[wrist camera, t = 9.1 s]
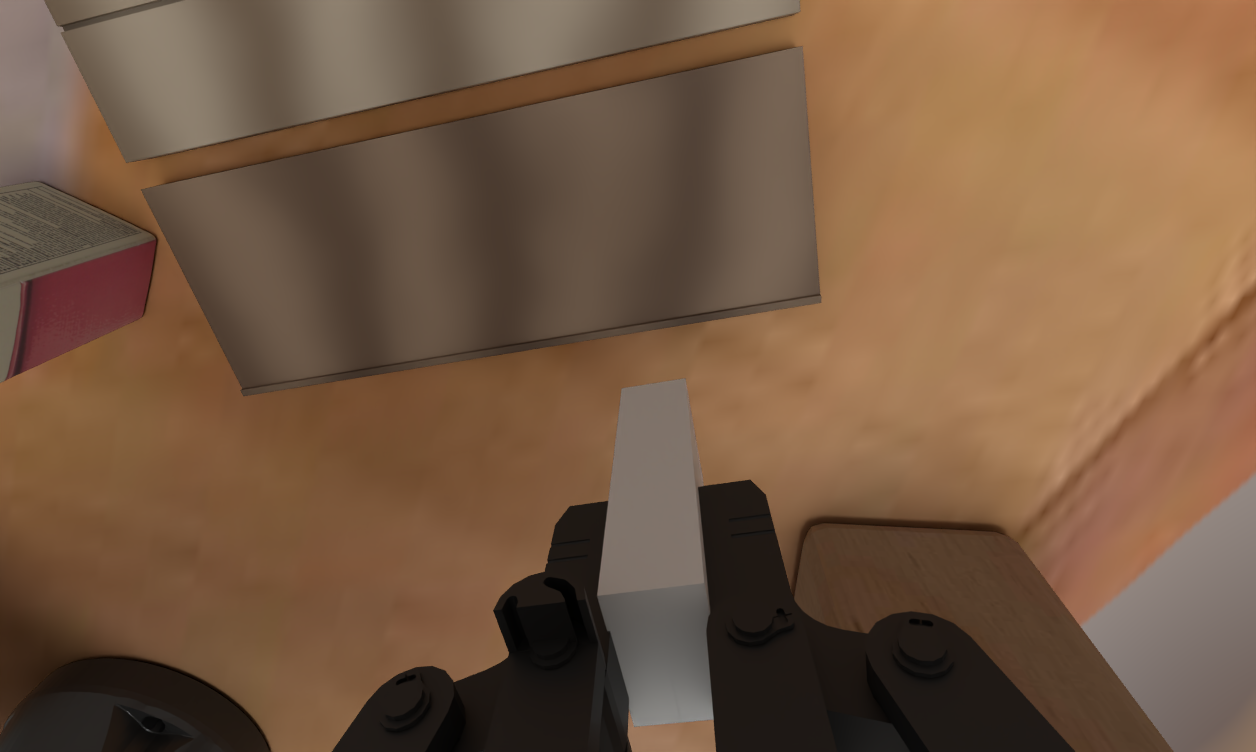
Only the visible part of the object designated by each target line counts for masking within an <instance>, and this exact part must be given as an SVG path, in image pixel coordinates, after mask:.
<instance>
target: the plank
mask: <svg viewBox="0 0 1256 752" xmlns="http://www.w3.org/2000/svg"><path fill="white" fill-rule="evenodd" d="M141 191H142V193H143V195H144V197H145V199H146V201H147V203H148V205H149V207H150V208H151V210H152V212H153V214H154V216H155V218H156V220H157V222H158V224H159V226H160V228H161V230H162V232H163V234H164V236H165V238H166V240H167V242H168V244H169V246H170V248H171V250H172V252H173V254H174V256H175V257H176V259H177V261H178V263H179V265H180V267H181V269H182V271H183V273H184V275H185V277H186V279H187V281H188V283H189V285H190V287H191V289H192V291H193V293H194V295H195V297H196V299H197V301H198V303H199V305H200V307H201V308H202V310H203V312H204V314H205V316H206V318H207V320H208V322H209V324H210V326H211V328H212V330H213V332H214V334H215V336H216V338H217V340H218V342H219V344H220V346H221V348H222V350H223V352H224V354H225V356H226V357H227V359H228V361H229V363H230V365H231V367H232V369H233V371H234V373H235V375H236V377H237V379H238V381H239V383H240V385H241V387H242V389H241V390H240V391H241V393H242V394H243V396H248V395H254V394H260V393H267V392H273V391H279V390H285V389H291V388H298V387H304V386H310V385H316V384H322V383H328V382H335V381H341V380H347V379H353V378H359V377H365V376H372V375H378V374H384V373H390V372H396V371H403V370H409V369H415V368H421V367H427V366H433V365H440V364H446V363H452V362H458V361H464V360H470V359H477V358H483V357H489V356H495V355H501V354H508V353H514V352H520V351H526V350H532V349H538V348H545V347H551V346H557V345H563V344H569V343H575V342H582V341H588V340H594V339H600V338H606V337H613V336H619V335H625V334H631V333H637V332H643V331H650V330H656V329H662V328H668V327H674V326H680V325H687V324H693V323H699V322H705V321H711V320H718V319H724V318H730V317H736V316H742V315H748V314H755V313H761V312H767V311H773V310H779V309H785V308H792V307H798V306H804V305H810V304H816V303H821V295H820V286H819V272H818V257H817V243H816V229H815V215H814V201H813V187H812V172H811V158H810V144H809V130H808V116H807V101H806V87H805V73H804V59H803V46H801V47H795V48H791V49H786V50H781V51H777V52H772V53H768V54H763V55H758V56H754V57H749V58H745V59H740V60H735V61H731V62H726V63H721V64H717V65H712V66H708V67H703V68H698V69H694V70H689V71H685V72H680V73H675V74H671V75H666V76H662V77H657V78H652V79H648V80H643V81H638V82H634V83H629V84H625V85H620V86H615V87H611V88H606V89H602V90H597V91H592V92H588V93H583V94H579V95H574V96H569V97H565V98H560V99H555V100H551V101H546V102H542V103H537V104H532V105H528V106H523V107H519V108H514V109H509V110H505V111H500V112H496V113H491V114H486V115H482V116H477V117H472V118H468V119H463V120H459V121H454V122H449V123H445V124H440V125H436V126H431V127H426V128H422V129H417V130H412V131H408V132H403V133H399V134H394V135H389V136H385V137H380V138H376V139H371V140H366V141H362V142H357V143H353V144H348V145H343V146H339V147H334V148H329V149H325V150H320V151H316V152H311V153H306V154H302V155H297V156H293V157H288V158H283V159H279V160H274V161H270V162H265V163H260V164H256V165H251V166H246V167H242V168H237V169H233V170H228V171H223V172H219V173H214V174H210V175H205V176H200V177H196V178H191V179H187V180H182V181H177V182H173V183H168V184H163V185H159V186H155V187H150V188H146V189H141Z"/></svg>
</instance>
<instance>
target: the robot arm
mask: <svg viewBox="0 0 1256 752" xmlns="http://www.w3.org/2000/svg"><path fill="white" fill-rule="evenodd" d="M547 560H548V564H546V568H545V572H542V573H538V574H534V575H531V576H528V577H526V578H524V579H523V580H521V581H519V582H517V583H515V584H514V585H512V586H511V587H510V588H509V589H508V590H507V591H506V592H505V593H504V594H503V595H502V596H501V597H500V599H499V601H498V603H497V604H496V606H495V608H494V610H493V611H494V614H495V617H496V619H497V622H498V625H499V627H500V630H501V632H502V635H503V638H504V640H505V643H506V646H507V648H508V651H509V656H508V658H506V659H505V660H504V661H502V662H501V663H499V664H497V665H495V666H493V667H491V668H489V669H487V670H485V671H482V672H480V673H477V674H474V675H472V676H469V677H467V678H464V679H462V680H459V681H457V682H453V680H452V679H451V678H450V676H449V675H448V674H447V672H446V671H445V670H442V669H439V668H436V667H433V666H427V667H416V668H413V669H410V670H408V671H405V672H403V673H400V674H398V675H396V676H395V677H393V678H392V679H391V680H389V681H388V682H386V683H385V684H383V685H382V686H381V687H380V688H379V689H378V690H377V691H376V692H375V693H374V694H373V696H372V697H371V698H370V699H369V700H368V701H367V702H366V704H365V705H364V707H363V708H362V710H361V711H360V712H359V714H358V715H357V717H356V718H355V720H354V721H353V722H352V724H351V725H350V727H349V728H348V729H347V731H346V732H345V734H344V735H343V737H342V738H341V739H340V741H339V742H338V744H337V745H336V746H335V748H334V749H333V751H332V752H632V750H631V746H630V742H629V739H628V736H627V733H628V712H629V710H630V714H631V717H632V721H633V724H634V727H637V726H648V725H659V724H670V723H681V722H692V721H702V720H713V719H714V730H715V742H716V752H1075V750H1074V749H1073V748H1072V747H1071V746H1070V745H1069V744H1068V743H1067V742H1066V741H1065V739H1064V738H1063V737H1062V736H1061V735H1060V734H1059V733H1058V732H1057V731H1056V730H1055V729H1054V727H1053V726H1052V725H1051V724H1050V723H1049V722H1048V721H1047V720H1046V719H1045V718H1044V716H1043V715H1042V714H1041V713H1040V712H1039V711H1038V710H1037V709H1036V708H1035V707H1034V705H1033V704H1032V703H1031V702H1030V701H1029V700H1028V699H1027V698H1026V697H1025V696H1024V695H1023V693H1022V692H1021V691H1020V690H1019V689H1018V688H1017V687H1016V686H1015V685H1014V684H1013V682H1012V681H1011V680H1010V679H1009V678H1008V677H1007V676H1006V675H1005V674H1004V673H1003V671H1002V670H1001V669H1000V668H999V667H998V666H997V665H996V664H995V663H994V662H993V661H992V659H991V658H990V657H989V656H988V655H987V654H986V653H985V652H984V651H983V650H982V648H981V647H980V646H979V645H978V644H977V643H976V642H975V641H974V640H973V639H972V637H971V636H969V635H968V634H967V633H966V632H964V631H963V630H962V629H961V628H959V627H958V626H957V625H956V624H954V623H952V622H950V621H948V620H945V619H943V618H941V617H938V616H936V615H934V614H928V613H921V612H914V611H909V612H902V613H895V614H891V615H889V616H887V617H885V618H883V619H881V620H879V621H877V622H876V623H875V624H874V626H873V627H872V629H871V630H870V631H869V633H861V632H855V631H849V630H843V629H839V628H835V627H831V626H827V625H825V624H823V623H821V622H819V621H816V620H814V619H813V618H812V617H810V616H809V615H808V614H806V613H805V612H803V610H802V609H801V608H800V607H799V606H798V604H797V603H796V602H795V600H794V598H793V595H792V593H791V590H790V586H789V583H788V579H787V575H786V571H785V567H784V563H783V560H782V556H781V552H780V548H779V544H778V540H777V537H776V533H775V529H774V525H773V521H772V517H771V514H770V510H769V506H768V502H767V498H766V494H764V493H763V492H762V491H761V490H760V489H759V488H758V487H757V486H756V485H755V484H754V483H753V482H752V481H751V480H745V481H738V482H730V483H723V484H716V485H708V486H704V485H703V476H702V470H701V465H700V459H699V453H698V448H697V442H696V436H695V430H694V425H693V419H692V413H691V407H690V402H689V396H688V390H687V385H686V379H685V378H684V379H678V380H672V381H665V382H659V383H653V384H646V385H640V386H634V387H627V388H622V391H621V399H620V407H619V416H618V424H617V433H616V441H615V450H614V458H613V467H612V475H611V483H610V492H609V500H608V501H605V502H597V503H590V504H583V505H575V506H570V507H569V508H568V509H567V510H566V512H565V513H564V514H563V516H562V517H561V518H560V519H559V521H558V522H557V523H556V525H555V529H554V534H553V538H552V542H551V548H550V551H549V555H548V559H547ZM0 752H269V749H268V747H267V744H266V742H265V740H264V738H263V737H262V735H261V733H260V732H259V731H258V729H257V728H256V727H255V725H254V724H253V723H252V722H251V721H250V719H249V718H248V717H247V716H246V715H245V714H244V713H243V712H242V711H241V710H239V709H238V708H237V707H236V706H235V705H234V704H232V703H231V702H230V701H228V700H227V699H226V698H224V697H223V696H221V695H220V694H219V693H217V692H215V691H214V690H212V689H211V688H209V687H207V686H205V685H203V684H202V683H200V682H198V681H196V680H194V679H191V678H189V677H187V676H185V675H182V674H180V673H177V672H175V671H172V670H169V669H166V668H163V667H159V666H156V665H152V664H148V663H143V662H138V661H132V660H124V659H110V658H104V659H89V660H83V661H78V662H74V663H71V664H68V665H65V666H63V667H61V668H59V669H57V670H55V671H54V672H52V673H51V674H50V675H49V676H47V677H46V678H45V679H44V680H43V681H42V682H41V683H40V684H39V685H38V686H37V687H36V688H35V689H34V690H33V691H32V692H31V693H30V694H29V695H28V696H27V697H26V698H25V699H24V700H23V701H22V702H21V703H20V704H19V705H18V706H17V707H16V708H15V709H14V711H13V712H12V713H11V715H10V716H9V718H8V719H7V721H6V723H5V725H4V729H3V731H2V733H1V734H0Z"/></svg>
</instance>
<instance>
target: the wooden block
mask: <svg viewBox="0 0 1256 752" xmlns="http://www.w3.org/2000/svg"><path fill="white" fill-rule="evenodd" d="M794 600H795V602H796V603H797V604H798V606H799V607H800V608H801V609H802V610H803V612H805V613H806V614H808V615H809V616H810V617H812V618H813V619H814V620H816V621H819V622H821V623H823V624H825V625H827V626H831V627H835V628H839V629H843V630H849V631H855V632H861V633H869V631H870V630H871V629H872V627H873V626H874V624H875V623H876V622H877V621H879V620H881V619H883V618H885V617H887V616H889V615H891V614H895V613H902V612H909V611H914V612H921V613H928V614H934V615H936V616H938V617H941V618H943V619H945V620H948V621H950V622H952V623H954V624H956V625H957V626H958V627H959V628H961V629H962V630H963V631H964V632H966V633H967V634H968V635H969V636H971V637H972V639H973V640H974V641H975V642H976V643H977V644H978V645H979V646H980V647H981V648H982V650H983V651H984V652H985V653H986V654H987V655H988V656H989V657H990V658H991V659H992V661H993V662H994V663H995V664H996V665H997V666H998V667H999V668H1000V669H1001V670H1002V671H1003V673H1004V674H1005V675H1006V676H1007V677H1008V678H1009V679H1010V680H1011V681H1012V682H1013V684H1014V685H1015V686H1016V687H1017V688H1018V689H1019V690H1020V691H1021V692H1022V693H1023V695H1024V696H1025V697H1026V698H1027V699H1028V700H1029V701H1030V702H1031V703H1032V704H1033V705H1034V707H1035V708H1036V709H1037V710H1038V711H1039V712H1040V713H1041V714H1042V715H1043V716H1044V718H1045V719H1046V720H1047V721H1048V722H1049V723H1050V724H1051V725H1052V726H1053V727H1054V729H1055V730H1056V731H1057V732H1058V733H1059V734H1060V735H1061V736H1062V737H1063V738H1064V739H1065V741H1066V742H1067V743H1068V744H1069V745H1070V746H1071V747H1072V748H1073V749H1074V750H1075V752H1173V750H1172V749H1171V748H1170V746H1169V745H1168V744H1167V742H1166V741H1165V740H1164V738H1163V737H1162V736H1161V734H1160V733H1159V731H1158V730H1157V729H1156V728H1155V726H1154V725H1153V723H1152V722H1151V721H1150V720H1149V718H1148V717H1147V715H1146V714H1145V713H1144V711H1143V710H1142V709H1141V707H1140V706H1139V705H1138V703H1137V702H1136V701H1135V699H1134V698H1133V697H1132V695H1131V694H1130V693H1129V691H1128V690H1127V689H1126V687H1125V686H1124V685H1123V683H1122V682H1121V681H1120V679H1119V678H1118V676H1117V675H1116V674H1115V673H1114V671H1113V670H1112V668H1111V667H1110V666H1109V664H1108V663H1107V662H1106V661H1105V659H1104V658H1103V656H1102V655H1101V654H1100V652H1099V651H1098V650H1097V648H1096V647H1095V646H1094V644H1093V643H1092V642H1091V640H1090V639H1089V638H1088V636H1087V635H1086V634H1085V632H1084V631H1083V630H1082V628H1081V627H1080V626H1079V624H1078V623H1077V622H1076V620H1075V619H1074V617H1073V616H1072V615H1071V613H1070V612H1069V611H1068V609H1067V608H1066V607H1065V605H1064V604H1063V603H1062V601H1061V600H1060V599H1059V597H1058V596H1057V595H1056V593H1055V592H1054V591H1053V589H1052V588H1051V587H1050V585H1049V584H1048V583H1047V581H1046V580H1045V579H1044V577H1043V576H1042V575H1041V573H1040V572H1039V571H1038V569H1037V568H1036V567H1035V565H1034V564H1033V563H1032V561H1031V560H1030V559H1029V557H1028V556H1027V554H1026V553H1025V552H1024V550H1023V549H1022V548H1021V546H1020V545H1019V544H1018V542H1016V541H1014V540H1013V539H1011V538H1010V537H1008V536H1006V535H1003V534H1000V533H997V532H991V531H971V530H951V529H931V528H911V527H891V526H871V525H851V524H831V523H822V524H819V525H815V526H811V528H810V530H809V531H808V533H807V534H806V537H805V540H804V543H803V548H802V554H801V560H800V566H799V572H798V577H797V583H796V589H795V595H794Z"/></svg>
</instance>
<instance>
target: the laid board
mask: <svg viewBox="0 0 1256 752" xmlns="http://www.w3.org/2000/svg"><path fill="white" fill-rule="evenodd" d="M44 1H45V3H46V5H47V7H48V9H49V11H50V13H51V15H52V17H53V19H54V21H55V23H56V25H57V26H61V27H63V29H64V31H65V32H61V34H62V36H63V38H64V40H65V42H66V44H67V46H68V48H69V50H70V52H71V54H72V56H73V58H74V60H75V62H76V64H77V66H78V68H79V70H80V72H81V74H82V76H83V78H84V80H85V82H86V84H87V86H88V88H89V90H90V92H91V94H92V96H93V98H94V100H95V102H96V104H97V106H98V108H99V110H100V112H101V114H102V116H103V118H104V120H105V122H106V124H107V126H108V128H109V130H110V132H111V134H112V136H113V138H114V139H115V141H116V143H117V145H118V147H119V149H120V151H121V153H122V155H123V157H124V159H125V161H126V163H128V162H134V161H140V160H146V159H152V158H157V157H161V156H166V155H170V154H175V153H179V152H184V151H188V150H193V149H197V148H202V147H206V146H210V145H215V144H219V143H224V142H228V141H233V140H237V139H242V138H246V137H251V136H255V135H260V134H264V133H269V132H273V131H277V130H282V129H286V128H291V127H295V126H300V125H304V124H309V123H313V122H318V121H322V120H327V119H331V118H336V117H340V116H344V115H349V114H353V113H358V112H362V111H367V110H371V109H376V108H380V107H385V106H389V105H394V104H398V103H403V102H407V101H412V100H416V99H420V98H425V97H429V96H434V95H438V94H443V93H447V92H452V91H456V90H461V89H465V88H470V87H474V86H479V85H483V84H487V83H492V82H496V81H501V80H505V79H510V78H514V77H519V76H523V75H528V74H532V73H537V72H541V71H546V70H550V69H554V68H559V67H563V66H568V65H572V64H577V63H581V62H586V61H590V60H595V59H599V58H604V57H608V56H613V55H617V54H621V53H626V52H630V51H635V50H639V49H644V48H648V47H653V46H657V45H662V44H666V43H671V42H675V41H680V40H684V39H689V38H693V37H697V36H702V35H706V34H711V33H715V32H720V31H724V30H729V29H733V28H738V27H742V26H747V25H751V24H756V23H760V22H764V21H769V20H773V19H778V18H782V17H787V16H791V15H794V14H796V13H798V12H800V0H44Z"/></svg>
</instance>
